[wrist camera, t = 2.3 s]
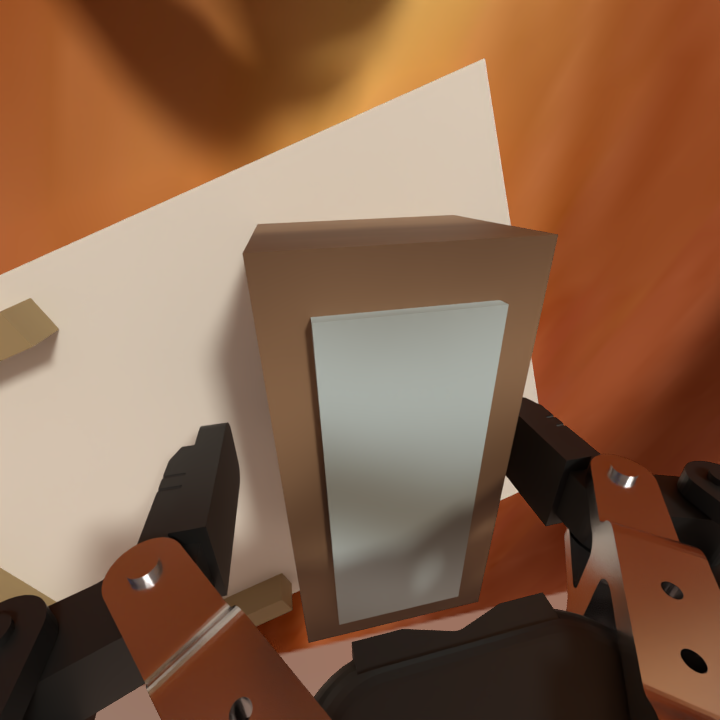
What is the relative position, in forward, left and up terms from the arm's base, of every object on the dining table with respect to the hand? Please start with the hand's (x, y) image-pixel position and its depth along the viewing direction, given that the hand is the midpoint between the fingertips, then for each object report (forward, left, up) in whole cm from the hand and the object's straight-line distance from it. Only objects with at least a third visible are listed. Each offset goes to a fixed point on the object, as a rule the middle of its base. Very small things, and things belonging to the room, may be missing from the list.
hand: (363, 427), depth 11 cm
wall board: (+5, +1, -3) cm, 6 cm away
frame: (0, 0, -2) cm, 2 cm away
